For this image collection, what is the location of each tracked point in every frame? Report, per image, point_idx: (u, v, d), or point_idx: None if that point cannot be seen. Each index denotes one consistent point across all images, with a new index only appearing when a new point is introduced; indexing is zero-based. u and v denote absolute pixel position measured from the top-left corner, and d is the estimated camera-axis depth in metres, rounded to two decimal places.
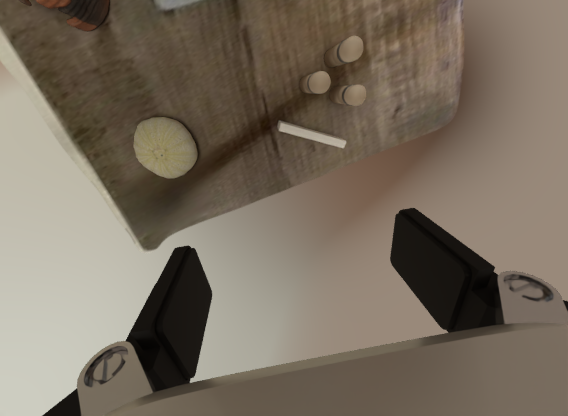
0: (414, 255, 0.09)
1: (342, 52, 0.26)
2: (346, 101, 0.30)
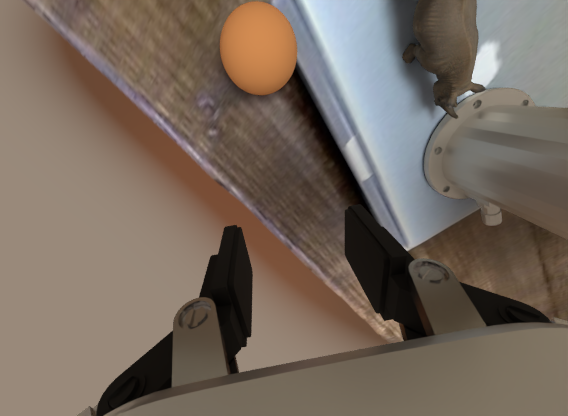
0: (357, 247, 0.10)
1: None
2: None
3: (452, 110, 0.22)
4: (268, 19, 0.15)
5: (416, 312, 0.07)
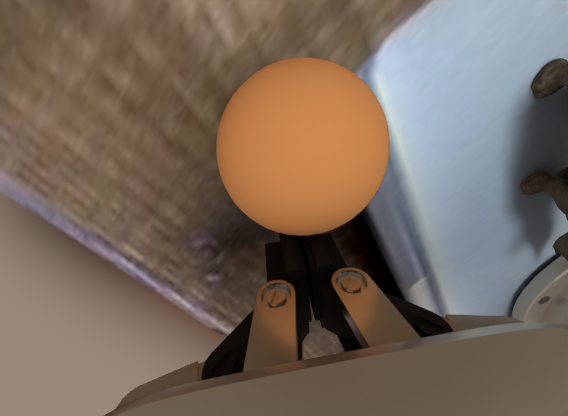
0: (302, 254, 0.10)
1: None
2: None
3: None
4: (331, 67, 0.06)
5: (348, 325, 0.07)
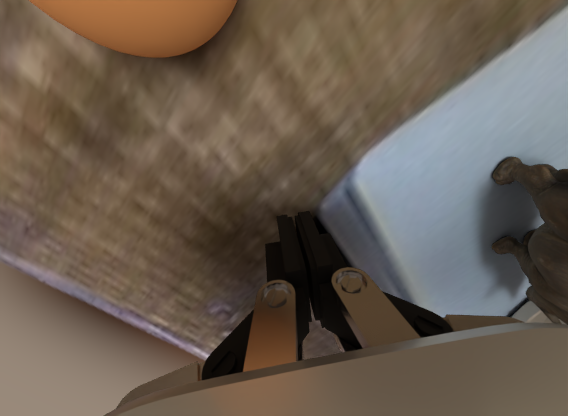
0: (302, 254, 0.10)
1: None
2: None
3: (556, 318, 0.16)
4: (179, 14, 0.05)
5: (348, 324, 0.07)
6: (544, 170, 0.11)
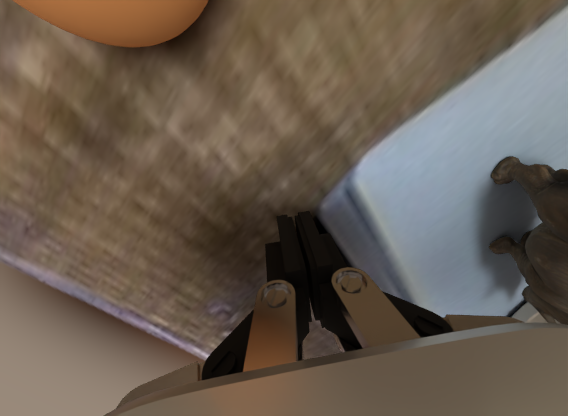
0: (302, 254, 0.10)
1: None
2: None
3: (551, 318, 0.16)
4: None
5: (348, 325, 0.07)
6: (542, 170, 0.11)
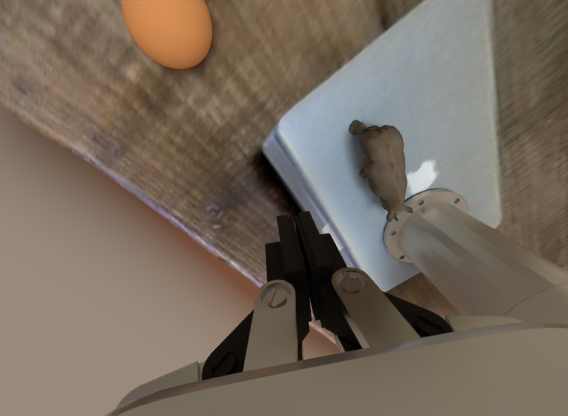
0: (302, 254, 0.10)
1: None
2: None
3: (394, 214, 0.29)
4: (184, 55, 0.16)
5: (348, 324, 0.07)
6: (361, 124, 0.24)
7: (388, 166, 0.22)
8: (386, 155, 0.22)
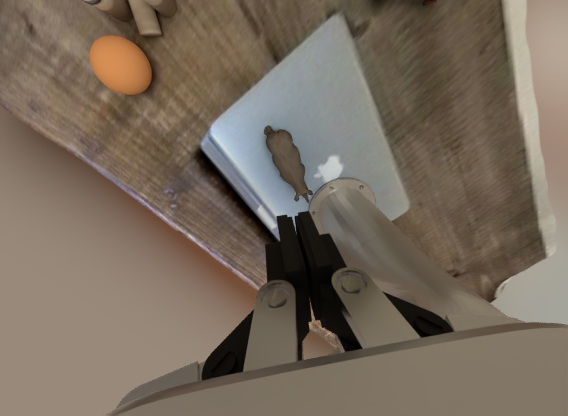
0: (302, 254, 0.10)
1: None
2: None
3: (306, 197, 0.38)
4: (130, 87, 0.26)
5: (348, 325, 0.07)
6: (268, 128, 0.33)
7: (282, 158, 0.32)
8: (278, 150, 0.31)
